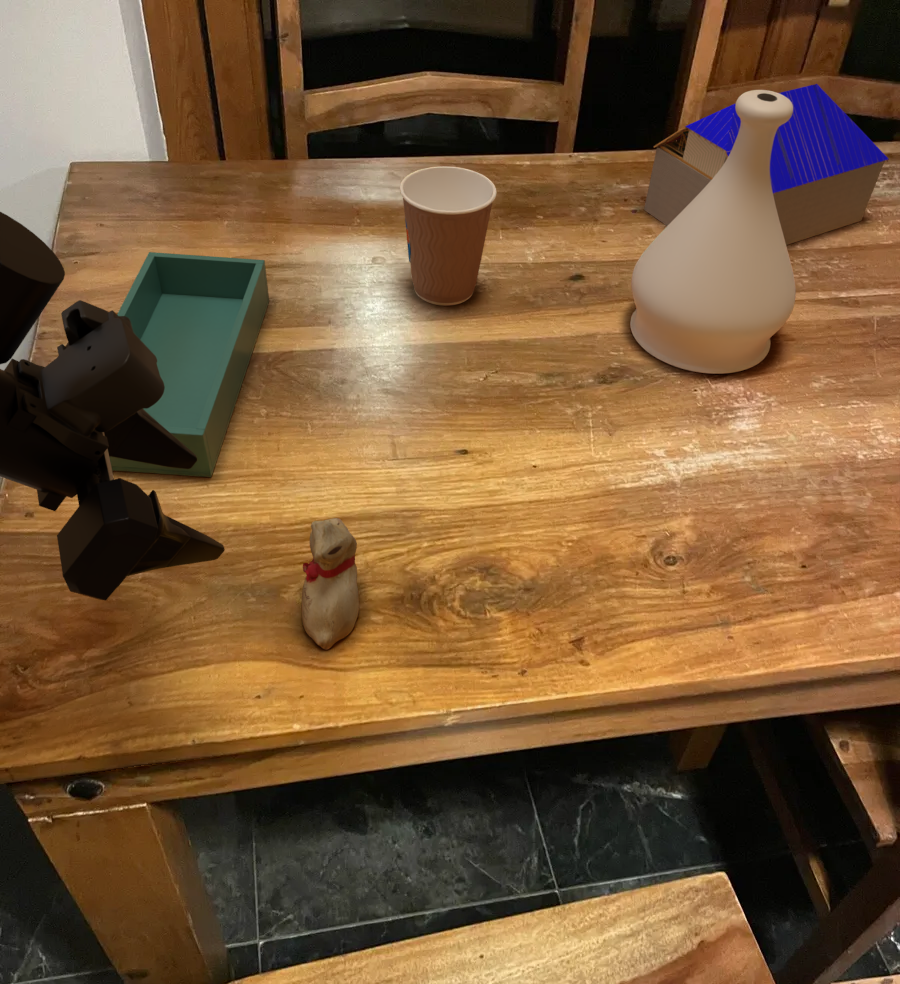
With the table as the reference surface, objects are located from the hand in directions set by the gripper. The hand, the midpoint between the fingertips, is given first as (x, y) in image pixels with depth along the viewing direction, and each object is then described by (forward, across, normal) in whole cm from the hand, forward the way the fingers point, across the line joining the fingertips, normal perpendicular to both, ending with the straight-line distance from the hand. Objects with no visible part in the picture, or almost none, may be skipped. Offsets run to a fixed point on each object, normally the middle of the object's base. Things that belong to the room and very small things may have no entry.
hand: (206, 505), depth 63 cm
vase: (+52, +26, -29) cm, 65 cm away
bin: (+11, +35, +9) cm, 38 cm away
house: (+68, +48, -43) cm, 94 cm away
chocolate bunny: (+16, 0, +5) cm, 17 cm away
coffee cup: (+34, +43, -12) cm, 56 cm away
